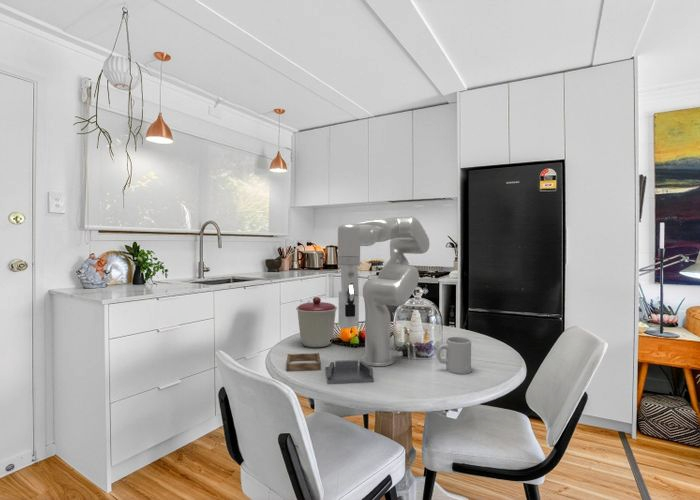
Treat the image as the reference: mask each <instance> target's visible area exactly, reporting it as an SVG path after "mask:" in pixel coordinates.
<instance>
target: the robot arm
mask: <svg viewBox="0 0 700 500" xmlns="http://www.w3.org/2000/svg"><path fill="white" fill-rule="evenodd" d="M389 240H390V241H389ZM387 241H389V260H388V261H387V262H386V264H385V265H384V266H383V267H382V268H381V269H380V271H379V273H378V276H377V278H370V279H368V280H366V281H365V282H364V284H363V287H362V295H363V302H364V311H365V312H364V315H365V318H364V321H365V322H364V323H365V325H364V327H365V328H364V330H365V331H364V337H365V339H364V340H365V342H364V355H362V356H361V357H360V361H363V362H364V363H366V364H367V365H368V366H369V367H386V366H390V365H391V366H392V364H394V362H395V357H397V358H398V357H399V358H400V357H403V355H404V354H403V351H402V350H401V351H400V350H399V351H398V350H395V349H394V350H392V349H391V313H390V311H389V309H388V307H387V306H394V307H402V306H403V305H406V303H407V302H408V301H409V299H410V297H411V296H412V295H413V293H414V292H415V290H416V289H417V287H418V283H419V280H420V274H419V270H418V268H417V267H416V266H414V265H411V264H410V263H409V260H408V258H407V257H406V256H405V254H415V255H416V254H417V255H419V254H420V255H421V254H425V253H427V252H428V251H429V249H430V239H429V236H428V234H427V233H426V230H425V229H424V227H423V226H422V223H421V222H420V221H419V220H418V218H416V217H414V216H393V217H392V216H391V217H387V218H383V219H381V218H380V219H376V220H375V219H374V220H368V221H362V222H355V223H349V224H340V225H339V226H338V228H337V267H340V279H341V280H340V285H341V287H340V288H341V291H343V294H344V296H346V304H345V316H346V317H355V297H354V294H355V295H356V296H358V295H359V296H360V294H359V293H360V291H359V289H360V288H359V270H358V269H359V268H358V267H361V247H370V246H373V245H374V244H376V243H381V242H387ZM354 292H355V293H354ZM347 293H349V295H347Z"/></svg>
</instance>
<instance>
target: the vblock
mask: <svg viewBox="0 0 700 500" xmlns="http://www.w3.org/2000/svg"><path fill="white" fill-rule="evenodd" d="M324 370H325V377H326V383H327V385H337V384H338V385H339V384H357V383H358V384H359V383H374V382H375V381H374V379H375V378H374V369H373V368H372V366H370V365H367V364H366V363H364V362H363V361H361V360H359V361H358V359H340V360H339V359H337V360H335V361H331V362H330V364H329V366H325V367H324Z"/></svg>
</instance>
